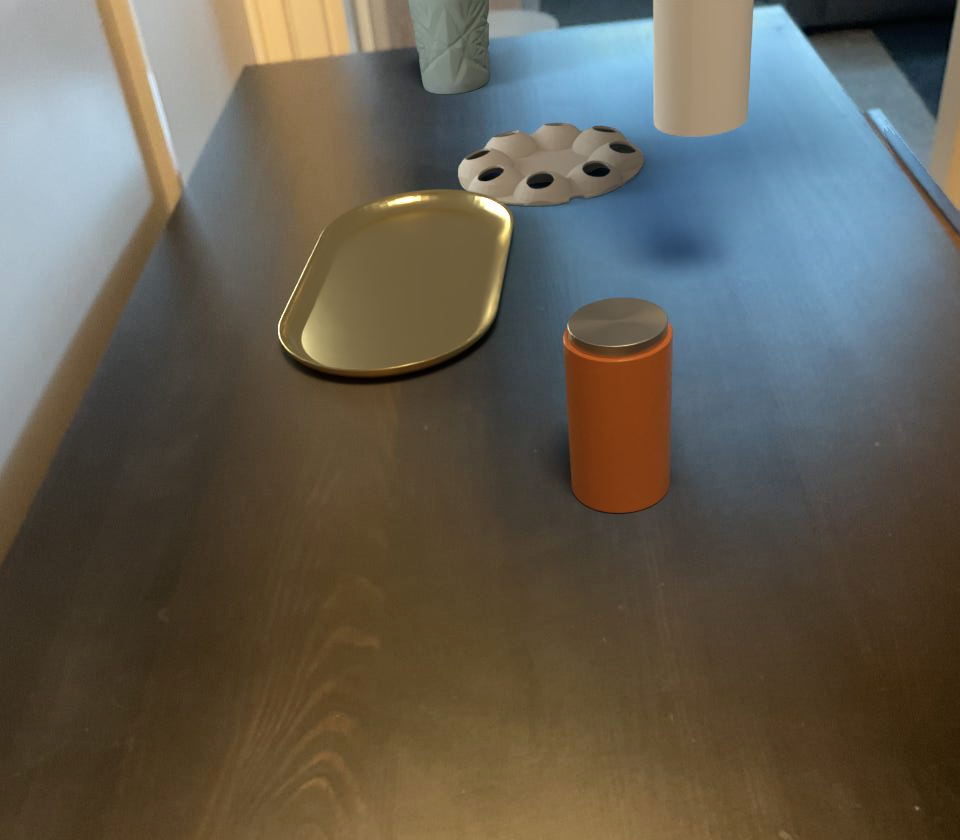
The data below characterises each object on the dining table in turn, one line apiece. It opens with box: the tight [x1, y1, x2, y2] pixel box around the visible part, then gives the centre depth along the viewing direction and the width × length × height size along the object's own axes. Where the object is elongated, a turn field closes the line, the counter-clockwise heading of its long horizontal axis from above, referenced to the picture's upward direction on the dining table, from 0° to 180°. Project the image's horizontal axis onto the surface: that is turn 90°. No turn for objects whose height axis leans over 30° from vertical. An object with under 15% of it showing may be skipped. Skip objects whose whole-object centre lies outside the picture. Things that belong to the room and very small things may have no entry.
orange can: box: [563, 297, 674, 514], centre depth 69 cm, size 7×7×12 cm
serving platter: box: [277, 188, 515, 379], centre depth 97 cm, size 19×35×2 cm, turn 174°
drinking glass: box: [407, 0, 490, 95], centre depth 133 cm, size 10×10×12 cm
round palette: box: [457, 122, 645, 207], centre depth 114 cm, size 20×20×2 cm
